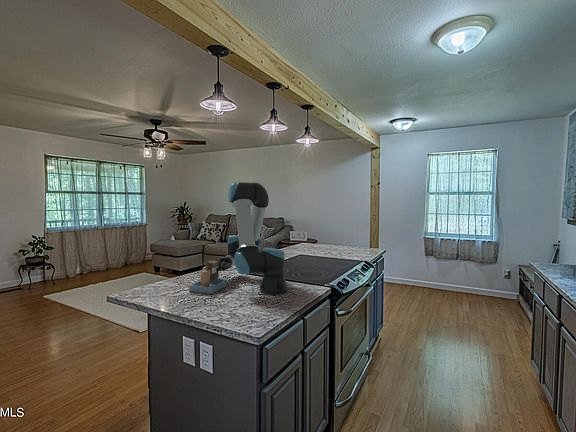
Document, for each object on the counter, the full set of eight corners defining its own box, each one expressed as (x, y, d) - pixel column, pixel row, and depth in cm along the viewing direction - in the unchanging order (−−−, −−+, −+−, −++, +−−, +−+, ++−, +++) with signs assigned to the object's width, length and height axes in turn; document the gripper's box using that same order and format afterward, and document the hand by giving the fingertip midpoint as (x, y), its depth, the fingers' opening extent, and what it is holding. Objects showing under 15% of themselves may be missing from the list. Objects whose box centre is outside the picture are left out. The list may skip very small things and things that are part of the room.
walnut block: (218, 278, 181) (218, 261, 181) (214, 280, 177) (214, 263, 176) (210, 277, 183) (210, 260, 182) (206, 279, 178) (206, 262, 177)
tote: (227, 285, 182) (227, 279, 182) (212, 294, 165) (212, 287, 165) (206, 283, 186) (206, 277, 186) (189, 291, 169) (189, 285, 169)
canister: (210, 288, 174) (211, 270, 174) (208, 290, 169) (209, 272, 169) (201, 288, 174) (202, 269, 174) (198, 290, 169) (199, 271, 169)
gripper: (240, 269, 194) (222, 278, 172) (213, 267, 199) (193, 276, 177) (240, 257, 194) (222, 265, 172) (213, 255, 199) (193, 262, 176)
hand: (207, 270), depth 174 cm, fingers closed on walnut block, 5 cm apart
